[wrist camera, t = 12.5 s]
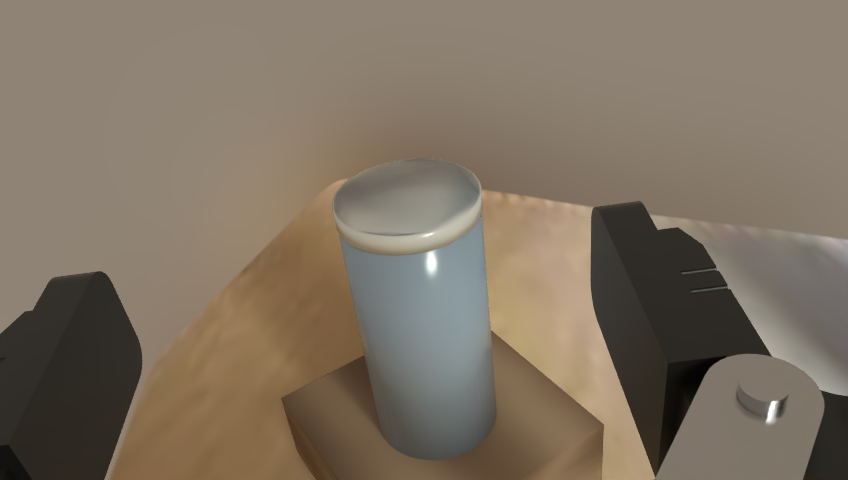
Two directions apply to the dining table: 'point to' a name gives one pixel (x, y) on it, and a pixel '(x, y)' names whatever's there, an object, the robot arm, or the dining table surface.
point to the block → (463, 475)
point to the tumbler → (421, 302)
